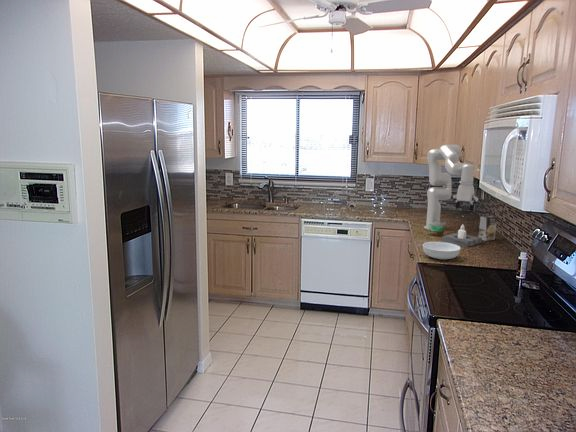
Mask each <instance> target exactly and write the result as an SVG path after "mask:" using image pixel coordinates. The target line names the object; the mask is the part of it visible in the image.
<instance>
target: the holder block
mask: <svg viewBox="0 0 576 432" xmlns="http://www.w3.org/2000/svg"><path fill="white" fill-rule="evenodd" d="M482 241H483V240H482V238H480V237H478V236H476V235H469V234H466V239H461V238H458V232H455V233H454V232H453V233H451V234H448V235H443V236H442V238H441V242H446V243H451V244H455V245H457V246H459V247H464V246H465V247H464V248H469V246H470V247H472V246H476V245H479V244H482Z"/></svg>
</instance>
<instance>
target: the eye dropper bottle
mask: <svg viewBox="0 0 576 432" xmlns="http://www.w3.org/2000/svg"><path fill="white" fill-rule="evenodd" d="M465 228H466V227H465V225H464V224H463V223H462V224H461V225H460V229H458V231H457V233H458V238H461V239H466V235H467V231H466V230H465Z"/></svg>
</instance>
